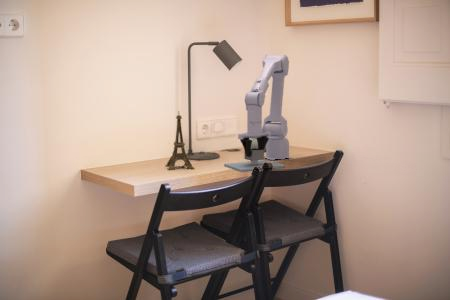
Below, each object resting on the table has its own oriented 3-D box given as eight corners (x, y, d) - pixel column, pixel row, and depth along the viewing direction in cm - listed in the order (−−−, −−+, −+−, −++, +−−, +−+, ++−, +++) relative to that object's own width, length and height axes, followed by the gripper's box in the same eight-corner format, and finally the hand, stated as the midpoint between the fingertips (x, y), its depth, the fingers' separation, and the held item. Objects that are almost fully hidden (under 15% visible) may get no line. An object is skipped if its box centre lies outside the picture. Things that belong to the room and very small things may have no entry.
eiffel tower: (167, 170, 263) (166, 106, 259) (165, 165, 273) (163, 104, 270) (194, 169, 265) (193, 106, 261) (190, 164, 276) (190, 103, 272)
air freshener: (246, 149, 315) (246, 128, 313) (263, 148, 316) (263, 127, 315) (253, 153, 304) (253, 131, 302) (270, 152, 306) (270, 130, 304)
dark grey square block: (255, 157, 274) (255, 147, 273) (264, 159, 269) (264, 149, 269) (244, 158, 271) (244, 149, 270) (252, 160, 266) (252, 150, 266)
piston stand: (266, 161, 281) (266, 149, 280) (284, 167, 269) (285, 154, 268) (224, 166, 272) (224, 153, 271) (241, 171, 260) (241, 158, 259)
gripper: (263, 119, 275) (263, 152, 277) (233, 122, 267) (233, 156, 269) (273, 121, 269) (273, 155, 271) (243, 123, 261) (243, 158, 263)
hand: (254, 155), depth 270 cm, fingers closed on dark grey square block, 6 cm apart
